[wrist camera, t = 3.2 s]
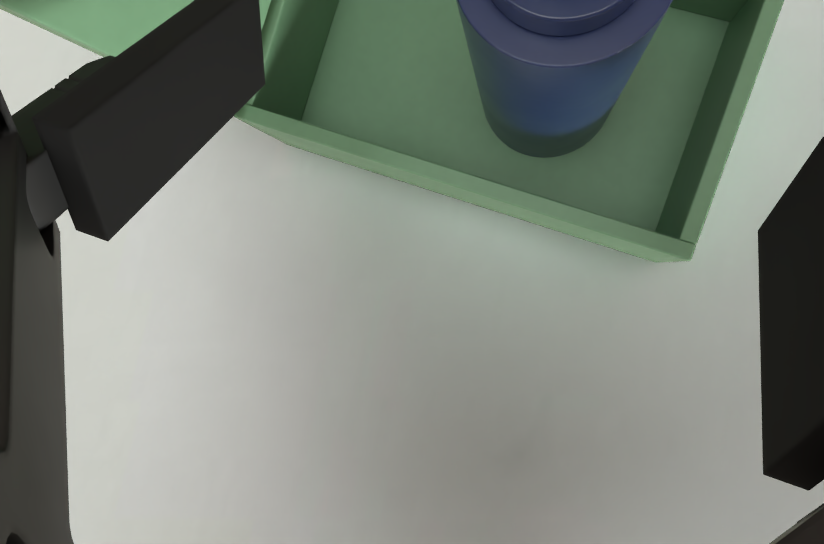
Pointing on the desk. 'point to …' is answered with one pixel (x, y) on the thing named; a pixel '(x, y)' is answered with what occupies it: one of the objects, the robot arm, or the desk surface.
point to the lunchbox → (480, 147)
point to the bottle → (554, 65)
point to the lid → (101, 19)
